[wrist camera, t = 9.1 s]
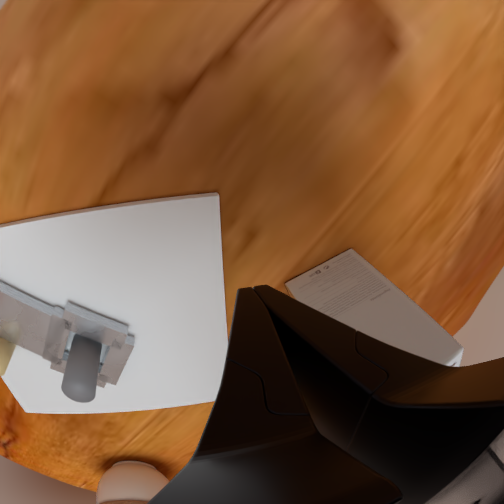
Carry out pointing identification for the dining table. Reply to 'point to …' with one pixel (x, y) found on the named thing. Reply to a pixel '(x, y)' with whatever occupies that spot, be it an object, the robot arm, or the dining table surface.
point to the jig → (123, 302)
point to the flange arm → (62, 332)
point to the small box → (374, 307)
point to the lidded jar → (129, 483)
